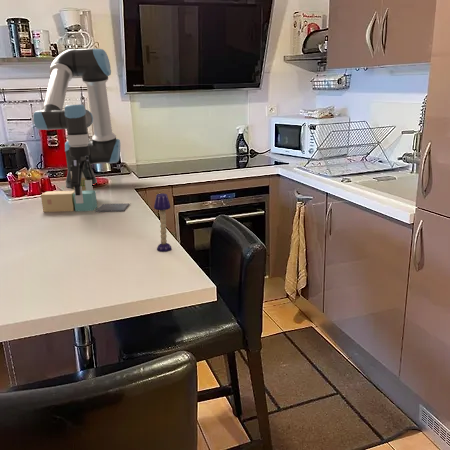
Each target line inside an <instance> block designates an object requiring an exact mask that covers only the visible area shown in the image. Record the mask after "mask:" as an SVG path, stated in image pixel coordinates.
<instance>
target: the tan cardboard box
mask: <svg viewBox="0 0 450 450" xmlns="http://www.w3.org/2000/svg"><path fill="white" fill-rule="evenodd" d="M74 193H75V191H74V190H53V191H45V192H43V193H42V194H41V193H40V199H41V205H42V210H43V211H42V212H44V213H53V212H54V213H56V212H59V213H60V212H61V213H62V212H76V211H75V203H74V195H73V194H74Z"/></svg>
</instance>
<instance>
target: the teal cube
mask: <svg viewBox="0 0 450 450" xmlns="http://www.w3.org/2000/svg"><path fill="white" fill-rule="evenodd" d="M82 193H83V202H84V203H76V199H75V193H74V194H73V195H74V203H75V211H74V212H90V211H91V212H93V211H95V210H97V209H98V201H97V194H96V193H97V192H96V190H94V189H93V190H92V191H82Z"/></svg>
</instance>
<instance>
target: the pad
mask: <svg viewBox="0 0 450 450" xmlns="http://www.w3.org/2000/svg"><path fill="white" fill-rule="evenodd" d="M129 206H130V202H129V203H128V202H125V203H124V202H122V203H102V204H101V205H100V206H98V207H97V208H96V209H95V210H94V211H95V213H112V212H114V213H115V212H125V210H127V208H128V207H129Z"/></svg>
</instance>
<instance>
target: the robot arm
mask: <svg viewBox="0 0 450 450" xmlns="http://www.w3.org/2000/svg"><path fill="white" fill-rule="evenodd" d="M111 75H112V69H111V63H110V58H109V56H108V54H107V52H106V50H104V49H103V48H95V47H93V48H78V49H77V48H76V49H75V48H74V49H71V48H70V49H66V50H65V51H63V52H61V53H60V54H59V55H57V56H56V57H55V58H54V60H53V61H52V62H51V65H50V68H49V77H50V78H49V81H48V85H47V90H46V93H45V98H44V101H43V106H42V109H40V110H36V111H34V112H33V116H32V118H33V124H34V126H35V128H36V129H37V130H41V131H42V130H43V131H44V130H46V131H50V130H51V131H52V130H66V131H67V132H66V134H67V137H66V142H64V152H65V160H66V167H67V173H66V174H67V175H66V179H65V187H66V188H69V189H70V188H72V189H73V191H75V199H76V203H84V202H83V193H82V186H81V178H82V172H83V174H84V177H85V179H86V180H85V187H86V191H92V190H94V186H92V185H93V184H95V183H97V184H98V180H97V177H96V175H95V173H94V170H93V169H91V167H92V168H93V166H92V165H96V164H97V165H98V164H100V165H101V164H108V165H110V164H116V163H118V162H119V161H120V158H121V140H120V139H118V138H117V135H116V134H115V133H113V129H112V122H111V121H112V120H111V115H110V114H111V113H110V107H109V100H108V99H109V98H108V91H107V84H106V83H107V82H108V81H109V77H110V76H111ZM74 77H81V79H82V82H83V83H84V84H86V90H87V95H88V102H89V108H90V109H89V110H90V111H89V110H88V109H87V108H86V107H85V105H84V104H66V105H64V104H65V100H66V95H67V90H68V86H69V82H70V81H72V79H73V78H74ZM63 108H64V109H63ZM90 126H92V129H93V135H92V137H91V140H90V139H89V133H88V128H89V127H90ZM71 165H72V179H71V173H70V171H69V169H70V166H71ZM90 165H91V166H90Z"/></svg>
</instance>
